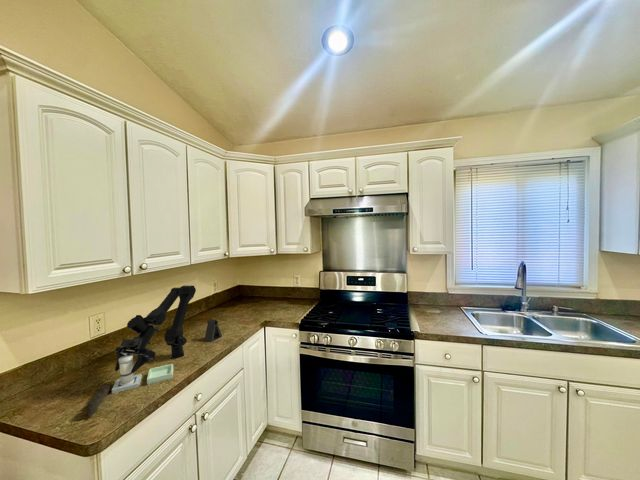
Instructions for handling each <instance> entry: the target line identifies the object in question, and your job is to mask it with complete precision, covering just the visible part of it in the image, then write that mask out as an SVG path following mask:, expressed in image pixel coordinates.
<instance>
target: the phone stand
mask: <svg viewBox="0 0 640 480" xmlns="http://www.w3.org/2000/svg"><path fill="white" fill-rule="evenodd" d="M220 338H223V333H222V332H221V330H220V326H219V322H218V320H217V319H211V318H209V319H208V320H207V326H206V330H205V336H204V341H206V342H214V341H216V340H218V339H220Z"/></svg>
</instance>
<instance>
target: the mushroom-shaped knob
mask: <svg viewBox="0 0 640 480" xmlns="http://www.w3.org/2000/svg"><path fill="white" fill-rule="evenodd" d="M133 361H134V354H131V355H126V356H123V357H120V358H119V364H120V369H119V377H120V378H119V379H121V382H120V386H124V385H128V384H133V383H135V381H136V380H134V375H135V374H134V373H131V371H132V368H133V366H134V362H133ZM120 386H119V387H120Z"/></svg>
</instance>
